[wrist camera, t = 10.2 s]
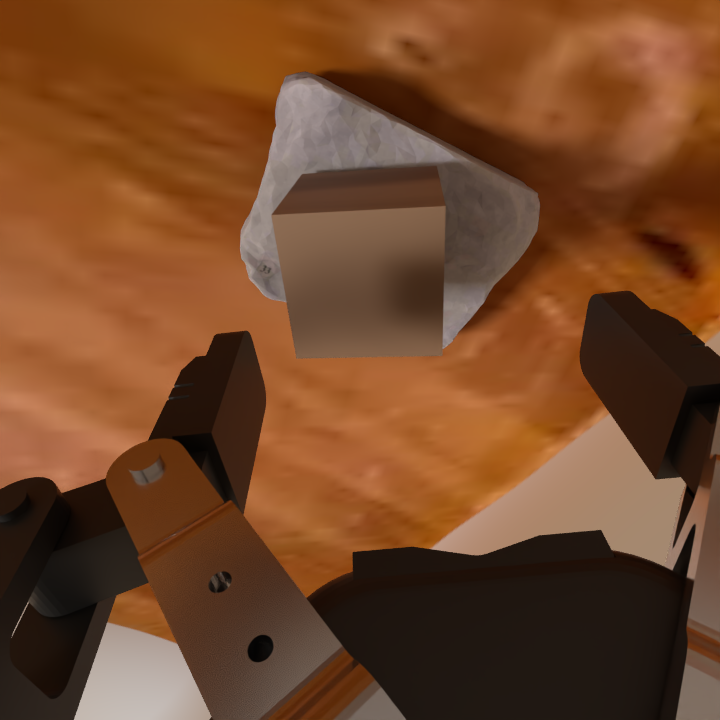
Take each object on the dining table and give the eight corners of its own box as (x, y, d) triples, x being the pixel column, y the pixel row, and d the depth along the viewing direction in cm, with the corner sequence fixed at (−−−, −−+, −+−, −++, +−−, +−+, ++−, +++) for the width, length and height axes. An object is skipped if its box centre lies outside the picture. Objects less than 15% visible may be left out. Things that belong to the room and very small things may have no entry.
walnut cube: (302, 173, 18) (271, 215, 14) (436, 165, 18) (445, 206, 14) (318, 294, 21) (296, 358, 17) (435, 290, 20) (442, 355, 16)
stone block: (437, 324, 28) (547, 168, 22) (439, 382, 25) (571, 219, 18) (240, 243, 26) (297, 41, 19) (211, 296, 22) (270, 71, 16)
